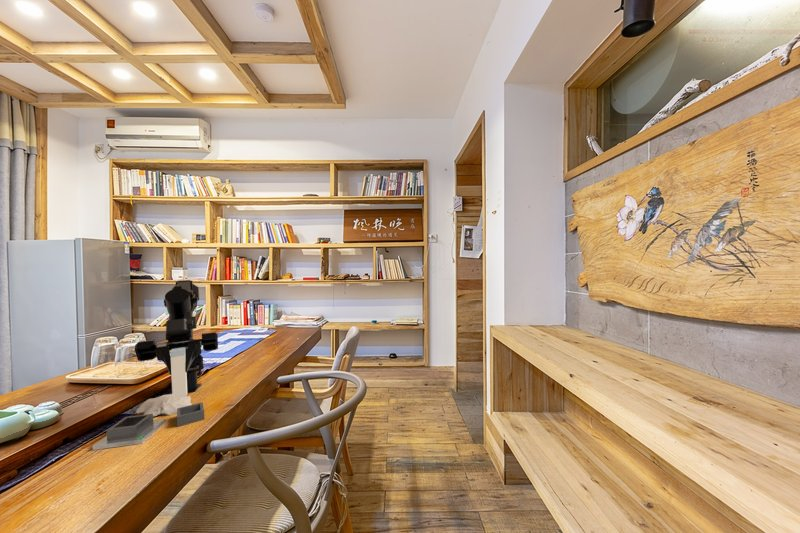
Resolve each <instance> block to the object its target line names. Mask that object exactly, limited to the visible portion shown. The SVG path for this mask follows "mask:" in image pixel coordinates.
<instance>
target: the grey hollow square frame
mask: <svg viewBox="0 0 800 533" xmlns="http://www.w3.org/2000/svg"><path fill="white" fill-rule="evenodd" d="M203 420H205V409H204V402H197V403H194V404H192V405H189V406H185V407H181V408H177V413H176V422H177V423H176V426H177V427H181V426H185V425H188V424H192V423H197V422H199V421H203Z"/></svg>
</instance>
